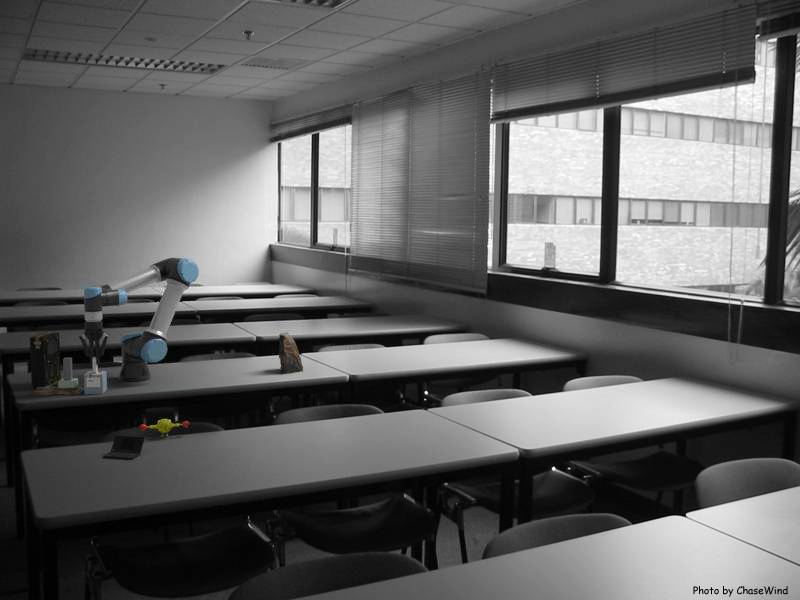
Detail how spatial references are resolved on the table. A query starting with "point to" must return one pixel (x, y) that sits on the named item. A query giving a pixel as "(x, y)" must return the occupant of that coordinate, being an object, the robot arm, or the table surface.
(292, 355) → the brown rock
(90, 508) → the table surface
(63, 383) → the grey post stand
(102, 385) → the gauge cabinet
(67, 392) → the rail bed
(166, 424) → the toy figure
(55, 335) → the black upright box
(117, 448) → the black laptop
